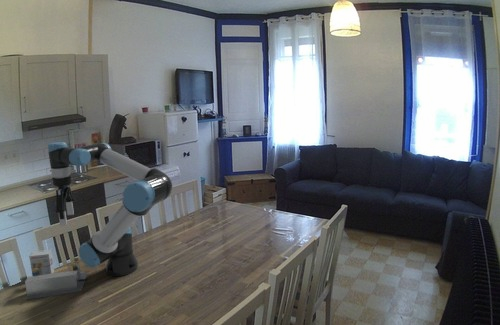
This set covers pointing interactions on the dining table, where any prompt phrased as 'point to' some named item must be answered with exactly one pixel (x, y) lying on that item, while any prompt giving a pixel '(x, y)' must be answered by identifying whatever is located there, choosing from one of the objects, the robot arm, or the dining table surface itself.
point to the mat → (58, 292)
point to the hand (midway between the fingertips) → (67, 219)
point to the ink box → (43, 257)
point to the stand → (75, 265)
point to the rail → (52, 283)
